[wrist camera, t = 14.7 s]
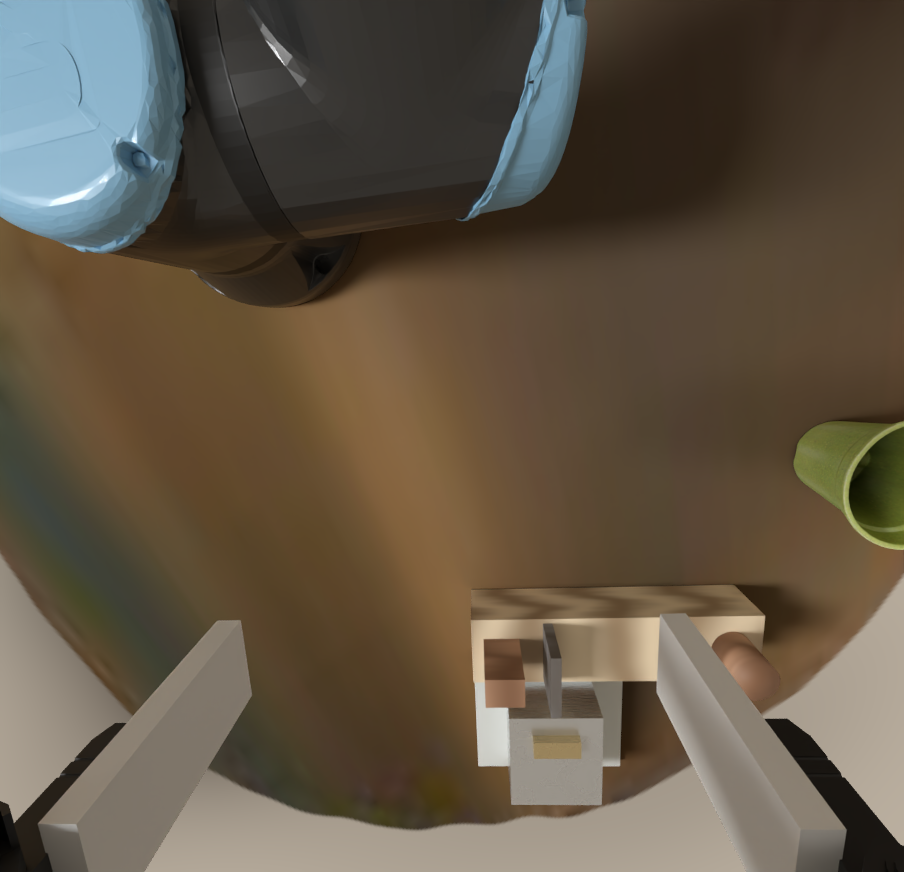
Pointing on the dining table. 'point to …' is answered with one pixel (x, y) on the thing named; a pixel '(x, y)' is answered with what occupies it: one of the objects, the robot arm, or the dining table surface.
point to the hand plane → (606, 637)
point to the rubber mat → (495, 725)
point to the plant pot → (858, 475)
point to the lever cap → (556, 748)
